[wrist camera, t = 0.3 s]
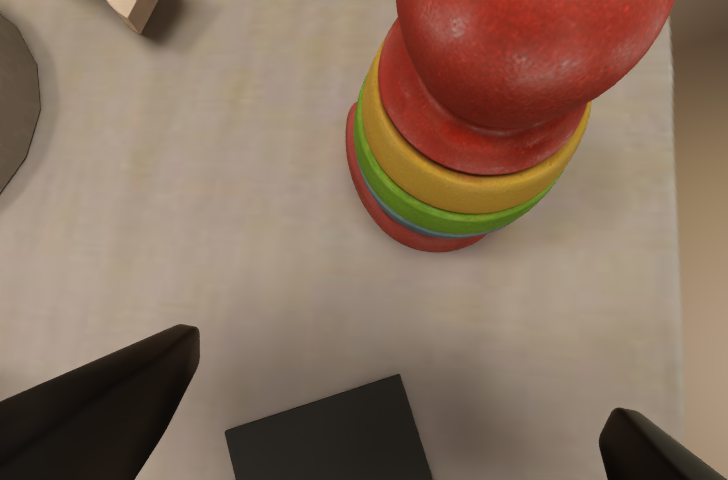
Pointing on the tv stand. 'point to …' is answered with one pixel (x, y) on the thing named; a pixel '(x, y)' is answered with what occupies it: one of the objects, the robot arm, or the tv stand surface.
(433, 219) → the stacking bear
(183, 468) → the tv stand surface
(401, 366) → the tv stand surface
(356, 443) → the mat
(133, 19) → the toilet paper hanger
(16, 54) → the mechanical component
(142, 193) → the tv stand surface
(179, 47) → the tv stand surface
